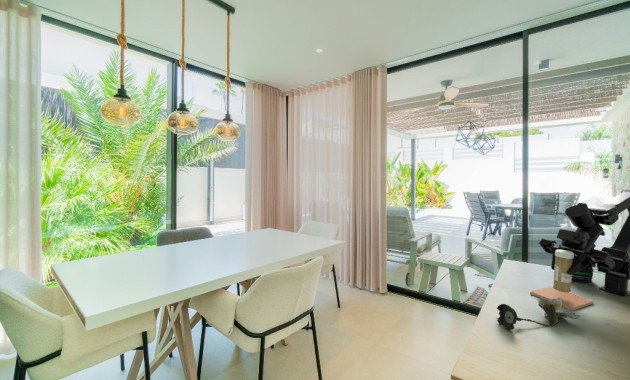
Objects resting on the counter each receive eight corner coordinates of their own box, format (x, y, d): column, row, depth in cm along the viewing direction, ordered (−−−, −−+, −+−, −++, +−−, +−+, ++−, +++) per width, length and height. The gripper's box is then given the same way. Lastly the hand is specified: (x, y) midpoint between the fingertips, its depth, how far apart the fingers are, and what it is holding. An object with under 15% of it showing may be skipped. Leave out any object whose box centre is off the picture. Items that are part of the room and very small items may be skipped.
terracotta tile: (550, 288, 99) (550, 286, 99) (593, 303, 88) (593, 300, 88) (530, 294, 95) (530, 291, 95) (572, 310, 84) (573, 307, 83)
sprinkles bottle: (569, 294, 86) (572, 254, 85) (551, 289, 90) (553, 250, 89) (572, 290, 89) (575, 251, 88) (554, 285, 93) (557, 248, 92)
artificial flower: (489, 323, 79) (487, 288, 81) (559, 329, 80) (556, 295, 82) (513, 332, 70) (511, 293, 72) (592, 339, 72) (587, 300, 74)
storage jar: (557, 278, 109) (559, 242, 108) (560, 272, 116) (562, 238, 115) (592, 286, 102) (595, 247, 101) (593, 279, 108) (595, 243, 107)
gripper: (543, 216, 98) (519, 248, 96) (611, 226, 80) (584, 266, 78) (557, 236, 101) (534, 267, 98) (626, 249, 83) (600, 288, 80)
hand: (560, 271), depth 89 cm, fingers closed on sprinkles bottle, 4 cm apart
